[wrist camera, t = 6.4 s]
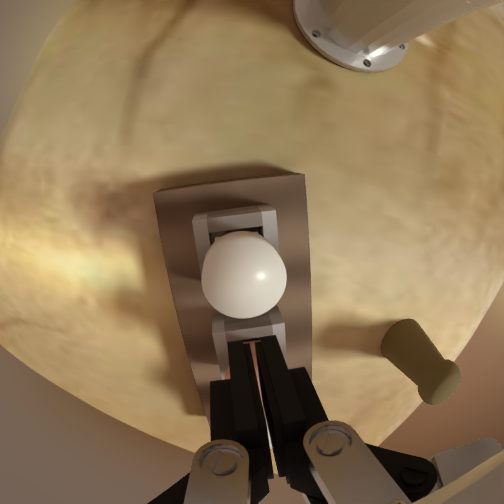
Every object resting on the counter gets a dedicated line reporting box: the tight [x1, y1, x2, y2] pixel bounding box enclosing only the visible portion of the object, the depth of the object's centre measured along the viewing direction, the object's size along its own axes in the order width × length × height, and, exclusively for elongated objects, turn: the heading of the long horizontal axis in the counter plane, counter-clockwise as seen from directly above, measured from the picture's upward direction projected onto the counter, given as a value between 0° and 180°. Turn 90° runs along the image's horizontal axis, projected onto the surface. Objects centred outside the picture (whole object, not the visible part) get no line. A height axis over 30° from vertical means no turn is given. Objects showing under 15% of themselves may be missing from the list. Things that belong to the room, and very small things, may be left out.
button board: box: [153, 173, 312, 425], centre depth 27 cm, size 28×12×6 cm, turn 6°
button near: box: [202, 231, 287, 318], centre depth 19 cm, size 5×5×5 cm
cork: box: [381, 319, 461, 405], centre depth 28 cm, size 6×6×11 cm
